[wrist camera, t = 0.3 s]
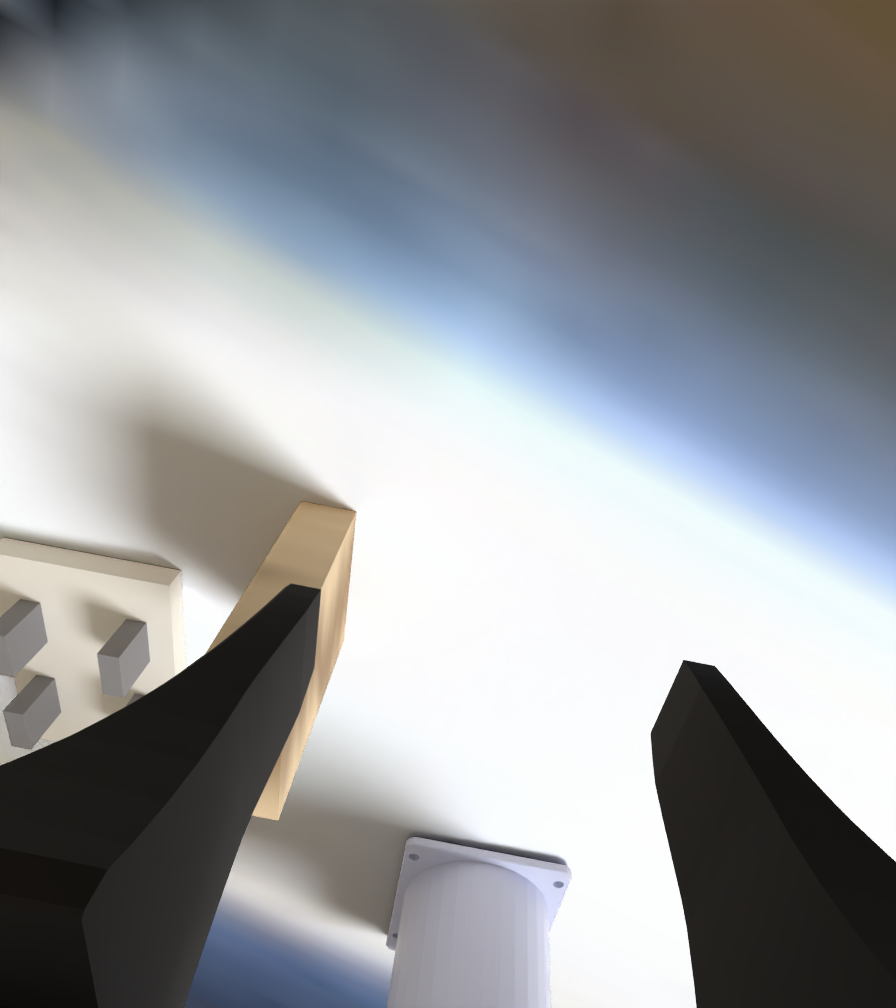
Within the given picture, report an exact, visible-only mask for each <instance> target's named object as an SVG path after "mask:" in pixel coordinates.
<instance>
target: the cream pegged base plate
mask: <svg viewBox="0 0 896 1008" xmlns="http://www.w3.org/2000/svg"><path fill="white" fill-rule="evenodd" d="M186 668H187V662H186V645H185V627H184V609H183V592H182V574H181V571H180V570H175V569H170V568H164V567H159V566H154V565H148V564H143V563H137V562H132V561H127V560H121V559H116V558H111V557H105V556H100V555H94V554H89V553H84V552H78V551H73V550H67V549H62V548H57V547H51V546H46V545H41V544H35V543H30V542H24V541H19V540H14V539H8V538H3V539H1V540H0V675H5V676H10V677H14V678H15V683H16V687H17V691H18V695H17V696H16V697H15V698H14V699H13V700H12V702H11V703H10V704H9V705H8V706H7V707H6V708H5V709H4V710H3V714H4V718H5V721H6V725H7V729H8V733H9V737H10V741H11V745H12V746H15V747H20V748H25V749H32V748H33V746H34V745H35V744H36V743H37V742H38V740H39V739H44V740H49V741H54V742H57V741H59V740H62V739H64V738H66V737H68V736H70V735H72V734H74V733H77V732H79V731H81V730H82V729H84V728H86V727H88V726H90V725H92V724H94V723H96V722H98V721H100V720H102V719H104V718H106V717H107V716H109V715H111V714H113V713H115V712H117V711H118V710H120V709H122V708H124V707H126V706H127V705H129V704H131V703H133V702H134V701H136V700H138V699H139V698H141V697H143V696H144V695H146V694H148V693H149V692H151V691H153V690H154V689H156V688H157V687H159V686H160V685H162V684H164V683H165V682H167V681H168V680H170V679H171V678H173V677H174V676H176V675H177V674H179V673H180V672H181V671H183V670H184V669H186Z"/></svg>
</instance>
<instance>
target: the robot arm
mask: <svg viewBox="0 0 896 1008" xmlns="http://www.w3.org/2000/svg"><path fill="white" fill-rule="evenodd" d="M320 599H321V589H317V588H312V587H307V586H302V585H297V584H292V583H291V584H289V585H288V586H286V587H285V588H283V589H282V590H281V591H280V592H279V593H278V594H277V595H276V596H275V597H274V598H273V599H272V600H270V601H269V602H268V603H267V604H266V605H265V606H264V607H263V608H262V609H260V610H259V611H258V612H257V613H256V614H255V615H253V616H252V617H251V618H250V619H249V620H248V621H247V622H245V623H244V624H243V625H242V626H240V627H239V628H238V629H237V630H236V631H234V632H233V633H232V634H231V635H229V636H228V637H227V638H226V639H224V640H223V641H222V642H221V643H220V644H218V645H217V646H216V647H214V648H213V649H212V650H210V651H209V652H208V653H206V654H205V655H204V656H202V657H201V658H199V659H198V660H197V661H195V662H194V663H193V664H191V665H190V666H188V667H187V668H186V669H184V670H183V671H181V672H180V673H179V674H177V675H176V676H174V677H173V678H171V679H170V680H168V681H167V682H165V683H164V684H162V685H160V686H159V687H157V688H156V689H154V690H153V691H151V692H149V693H148V694H146V695H144V696H143V697H141V698H139V699H138V700H136V701H134V702H133V703H131V704H129V705H127V706H126V707H124V708H122V709H120V710H118V711H117V712H115V713H113V714H111V715H109V716H107V717H106V718H104V719H102V720H100V721H98V722H96V723H94V724H92V725H90V726H88V727H86V728H84V729H82V730H81V731H79V732H77V733H74V734H72V735H70V736H68V737H66V738H64V739H62V740H59V741H57V742H55V743H53V744H51V745H48V746H46V747H44V748H42V749H39V750H37V751H35V752H32V753H30V754H28V755H25V756H23V757H20V758H18V759H16V760H13V761H11V762H8V763H6V764H3V765H1V766H0V1008H184V1005H185V1002H186V999H187V996H188V993H189V990H190V987H191V984H192V981H193V978H194V975H195V972H196V969H197V966H198V963H199V960H200V957H201V954H202V951H203V948H204V945H205V942H206V939H207V936H208V933H209V930H210V927H211V925H212V922H213V919H214V916H215V913H216V910H217V907H218V904H219V901H220V899H221V896H222V893H223V890H224V887H225V884H226V882H227V879H228V876H229V873H230V870H231V868H232V865H233V862H234V859H235V857H236V854H237V851H238V848H239V845H240V843H241V840H242V837H243V835H244V833H245V830H246V828H247V825H248V823H249V821H250V818H251V816H252V814H253V811H254V809H255V807H256V805H257V803H258V801H259V799H260V797H261V794H262V792H263V790H264V788H265V786H266V784H267V782H268V780H269V777H270V775H271V773H272V771H273V769H274V767H275V765H276V762H277V760H278V758H279V756H280V754H281V752H282V750H283V748H284V745H285V743H286V741H287V739H288V737H289V735H290V732H291V730H292V728H293V726H294V724H295V722H296V719H297V717H298V715H299V713H300V710H301V707H302V704H303V701H304V698H305V695H306V692H307V689H308V686H309V683H310V680H311V677H312V673H313V670H314V667H315V656H316V645H317V633H318V622H319V611H320ZM651 743H652V756H653V767H654V776H655V784H656V789H657V794H658V799H659V803H660V808H661V812H662V817H663V821H664V825H665V830H666V834H667V838H668V843H669V847H670V851H671V856H672V860H673V864H674V869H675V873H676V877H677V882H678V886H679V890H680V895H681V899H682V904H683V909H684V915H685V920H686V925H687V932H688V940H689V947H690V955H691V963H692V970H693V978H694V986H695V995H696V1005H697V1008H896V862H895V861H894V860H893V859H892V858H891V857H890V856H888V855H887V854H886V853H885V852H884V851H883V850H882V849H881V848H880V847H879V846H878V845H877V844H876V843H875V842H874V841H872V840H871V839H870V838H869V837H868V836H867V835H866V834H865V833H864V832H863V831H862V830H861V829H860V828H859V827H858V826H857V825H855V824H854V823H853V822H852V821H851V820H850V819H849V818H848V817H847V816H846V815H845V814H844V813H843V812H842V811H841V810H840V809H839V808H838V807H837V806H836V805H835V804H834V803H833V801H832V800H831V799H830V798H829V797H828V796H827V795H826V794H825V793H824V792H823V791H822V790H821V789H820V788H819V787H818V786H817V784H816V783H815V782H814V781H813V780H812V779H811V778H810V777H809V776H808V775H807V774H806V773H805V772H804V770H803V769H802V768H801V767H800V766H799V765H798V764H797V763H796V761H795V760H794V759H793V758H792V757H791V756H790V755H789V754H788V752H787V751H786V750H785V749H784V748H783V747H782V745H781V744H780V743H779V742H778V741H777V740H776V738H775V737H774V736H773V735H772V734H771V733H770V731H769V730H768V729H767V728H766V727H765V725H764V724H763V723H762V722H761V721H760V719H759V718H758V717H757V716H756V715H755V713H754V712H753V711H752V710H751V708H750V707H749V706H748V705H747V704H746V702H745V701H744V700H743V699H742V698H741V696H740V695H739V694H738V693H737V692H736V690H735V689H734V688H733V687H732V686H731V684H730V683H729V682H728V681H727V680H726V678H725V677H724V676H723V675H722V674H721V673H720V672H719V670H718V669H717V668H716V667H715V666H711V665H706V664H701V663H696V662H691V661H686V660H683V663H682V665H681V667H680V669H679V672H678V674H677V676H676V678H675V680H674V683H673V685H672V687H671V689H670V692H669V694H668V696H667V698H666V700H665V703H664V705H663V707H662V709H661V712H660V714H659V716H658V718H657V720H656V723H655V725H654V727H653V729H652V731H651ZM570 881H571V870H570V868H568V867H567V866H565V865H561V864H556V863H551V862H545V861H540V860H535V859H530V858H524V857H519V856H514V855H509V854H503V853H498V852H493V851H488V850H482V849H477V848H472V847H467V846H461V845H456V844H451V843H445V842H440V841H435V840H430V839H424V838H419V837H412V838H409V839H408V840H407V842H406V846H405V851H404V856H403V861H402V866H401V871H400V876H399V881H398V886H397V891H396V896H395V901H394V906H393V911H392V916H391V921H390V926H389V931H388V937H387V942H386V945H387V947H388V948H389V949H391V950H394V951H395V957H394V964H393V970H392V976H391V983H390V989H389V995H388V1002H387V1008H552V1006H551V977H550V949H549V931H550V929H551V927H552V924H553V922H554V920H555V917H556V915H557V912H558V910H559V908H560V905H561V903H562V900H563V898H564V896H565V893H566V891H567V888H568V886H569V884H570Z"/></svg>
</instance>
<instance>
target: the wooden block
mask: <svg viewBox="0 0 896 1008" xmlns="http://www.w3.org/2000/svg"><path fill="white" fill-rule="evenodd" d="M355 521H356V511H350V510H345V509H339V508H334V507H329V506H323V505H318V504H312V503H307V502H300V504H299V505H298V507H297V509H296V510H295V512H294V513H293V515H292V517H291V518H290V520H289V521H288V523H287V525H286V526H285V528H284V529H283V531H282V533H281V534H280V536H279V537H278V539H277V541H276V542H275V544H274V545H273V547H272V549H271V550H270V552H269V553H268V555H267V556H266V558H265V560H264V561H263V563H262V564H261V566H260V568H259V569H258V571H257V572H256V574H255V576H254V577H253V579H252V580H251V582H250V584H249V585H248V587H247V588H246V590H245V592H244V593H243V595H242V596H241V598H240V600H239V601H238V603H237V604H236V606H235V608H234V609H233V611H232V612H231V614H230V616H229V617H228V619H227V620H226V622H225V624H224V625H223V627H222V628H221V630H220V632H219V633H218V635H217V636H216V638H215V639H214V641H213V643H212V644H211V646H210V647H209V649H208V651H207V652H206V653H208V652H209V651H210V650H212V649H213V648H214V647H216V646H217V645H218V644H220V643H221V642H222V641H223V640H224V639H226V638H227V637H228V636H229V635H231V634H232V633H233V632H234V631H236V630H237V629H238V628H239V627H240V626H242V625H243V624H244V623H245V622H247V621H248V620H249V619H250V618H251V617H252V616H253V615H255V614H256V613H257V612H258V611H259V610H260V609H262V608H263V607H264V606H265V605H266V604H267V603H268V602H269V601H270V600H272V599H273V598H274V597H275V596H276V595H277V594H278V593H279V592H280V591H281V590H282V589H283V588H285V587H286V586H288V585H289V584H291V583H292V584H297V585H302V586H307V587H312V588H317V589H321V599H320V611H319V622H318V633H317V645H316V656H315V667H314V670H313V673H312V677H311V680H310V683H309V686H308V689H307V692H306V695H305V698H304V701H303V704H302V707H301V710H300V713H299V715H298V717H297V719H296V722H295V724H294V726H293V728H292V730H291V732H290V735H289V737H288V739H287V741H286V743H285V745H284V748H283V750H282V752H281V754H280V756H279V758H278V760H277V762H276V765H275V767H274V769H273V771H272V773H271V775H270V777H269V780H268V782H267V784H266V786H265V788H264V790H263V792H262V794H261V797H260V799H259V801H258V803H257V805H256V807H255V809H254V811H253V814H252V816H256V817H262V818H267V819H272V820H277V821H278V820H279V817H280V815H281V812H282V809H283V806H284V803H285V801H286V798H287V795H288V792H289V790H290V787H291V784H292V781H293V779H294V776H295V773H296V770H297V768H298V765H299V762H300V759H301V757H302V754H303V751H304V748H305V746H306V743H307V740H308V737H309V735H310V732H311V729H312V726H313V724H314V721H315V718H316V715H317V713H318V710H319V707H320V704H321V702H322V699H323V696H324V693H325V691H326V688H327V685H328V682H329V680H330V677H331V674H332V671H333V669H334V666H335V663H336V660H337V658H338V655H339V652H340V649H341V647H342V644H343V641H344V633H345V622H346V612H347V602H348V592H349V582H350V572H351V561H352V551H353V541H354V531H355Z"/></svg>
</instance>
